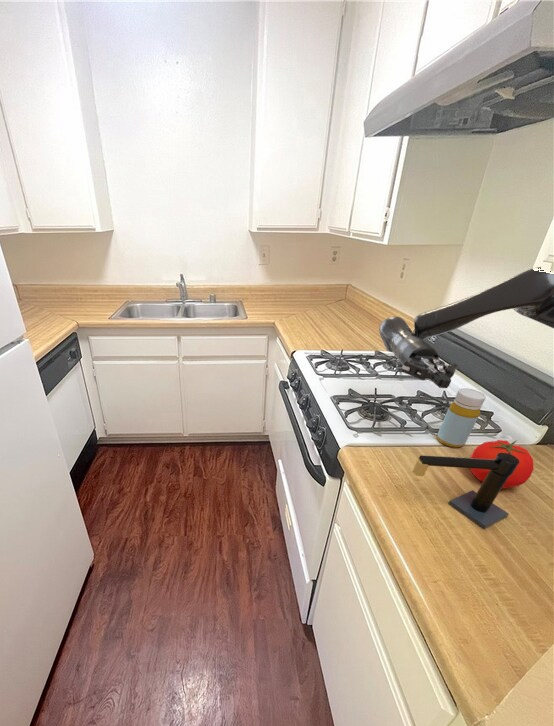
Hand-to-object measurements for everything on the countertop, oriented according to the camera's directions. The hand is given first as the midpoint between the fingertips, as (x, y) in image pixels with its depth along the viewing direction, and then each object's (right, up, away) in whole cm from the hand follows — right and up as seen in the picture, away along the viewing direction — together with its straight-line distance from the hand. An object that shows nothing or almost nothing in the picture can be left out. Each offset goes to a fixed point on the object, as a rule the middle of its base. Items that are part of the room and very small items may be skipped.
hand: (445, 384), depth 75 cm
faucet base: (+7, -27, 0) cm, 28 cm away
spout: (0, -19, -5) cm, 20 cm away
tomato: (+16, -22, +9) cm, 29 cm away
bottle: (+15, -13, +22) cm, 30 cm away
